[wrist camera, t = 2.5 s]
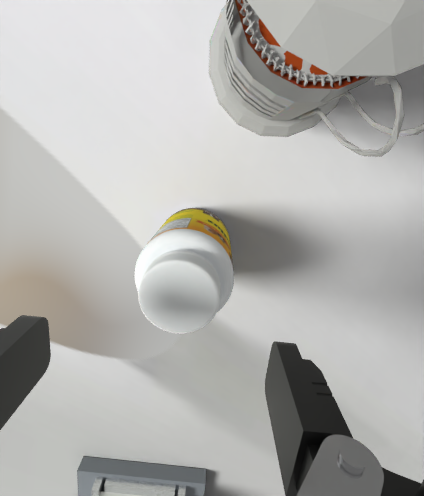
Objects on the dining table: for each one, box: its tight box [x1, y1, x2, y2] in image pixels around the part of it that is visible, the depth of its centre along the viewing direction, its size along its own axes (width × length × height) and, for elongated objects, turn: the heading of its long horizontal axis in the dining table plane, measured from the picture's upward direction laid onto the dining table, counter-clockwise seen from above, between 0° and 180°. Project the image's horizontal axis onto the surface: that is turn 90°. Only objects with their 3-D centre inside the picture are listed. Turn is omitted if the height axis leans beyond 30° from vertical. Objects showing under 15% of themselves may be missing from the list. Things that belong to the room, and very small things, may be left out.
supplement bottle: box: [135, 208, 234, 334], centre depth 19 cm, size 6×6×10 cm
